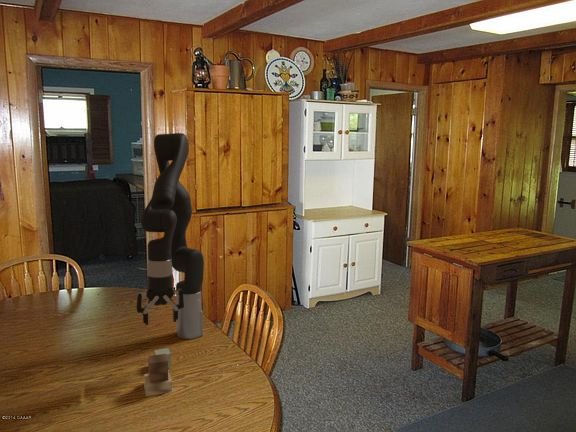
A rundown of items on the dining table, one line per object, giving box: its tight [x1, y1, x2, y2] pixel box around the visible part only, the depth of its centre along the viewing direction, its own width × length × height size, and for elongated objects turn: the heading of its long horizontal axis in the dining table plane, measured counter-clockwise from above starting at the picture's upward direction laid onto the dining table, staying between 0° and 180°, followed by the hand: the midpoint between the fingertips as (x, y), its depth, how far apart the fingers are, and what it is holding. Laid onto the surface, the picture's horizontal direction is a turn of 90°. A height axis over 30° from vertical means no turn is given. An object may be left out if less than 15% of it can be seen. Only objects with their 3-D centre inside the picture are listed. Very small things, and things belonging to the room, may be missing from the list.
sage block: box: [154, 347, 172, 370], centre depth 155 cm, size 4×4×6 cm
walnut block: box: [147, 354, 169, 383], centre depth 142 cm, size 5×5×6 cm
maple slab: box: [143, 370, 173, 396], centre depth 142 cm, size 7×7×3 cm
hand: (160, 322), depth 153 cm, fingers open, 8 cm apart
